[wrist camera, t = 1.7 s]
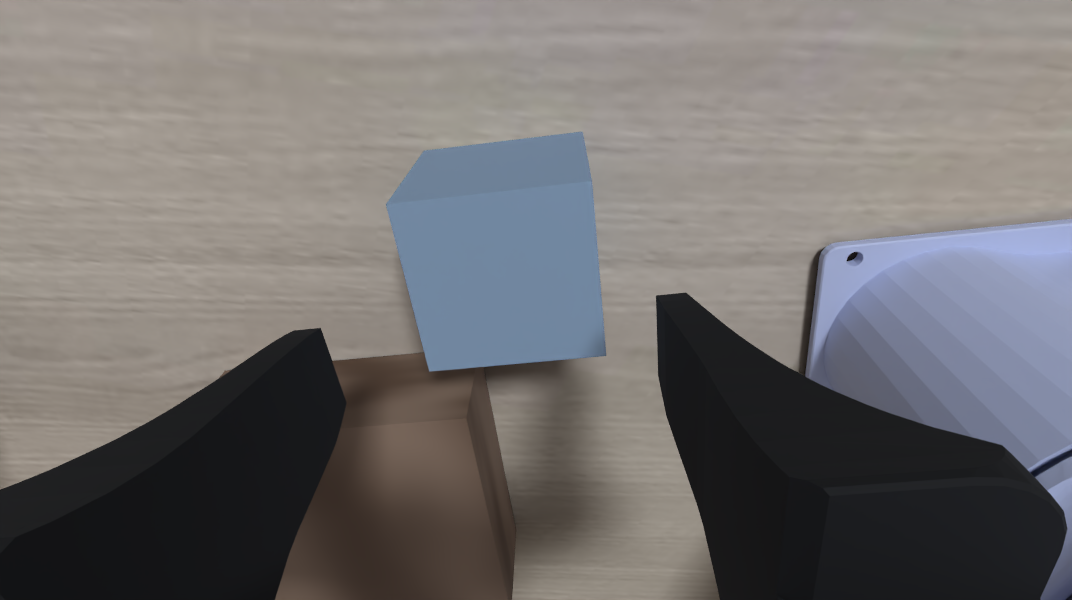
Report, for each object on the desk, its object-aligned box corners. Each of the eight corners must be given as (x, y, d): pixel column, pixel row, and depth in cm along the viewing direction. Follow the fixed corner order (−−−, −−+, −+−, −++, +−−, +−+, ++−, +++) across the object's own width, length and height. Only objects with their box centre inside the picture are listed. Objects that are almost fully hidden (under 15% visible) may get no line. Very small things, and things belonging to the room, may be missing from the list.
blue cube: (582, 131, 18) (591, 181, 14) (594, 274, 21) (605, 355, 16) (424, 149, 19) (385, 204, 14) (454, 288, 21) (429, 371, 17)
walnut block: (479, 347, 22) (466, 418, 19) (516, 529, 27) (511, 613, 24) (225, 370, 23) (166, 442, 20) (304, 544, 28) (269, 626, 24)
